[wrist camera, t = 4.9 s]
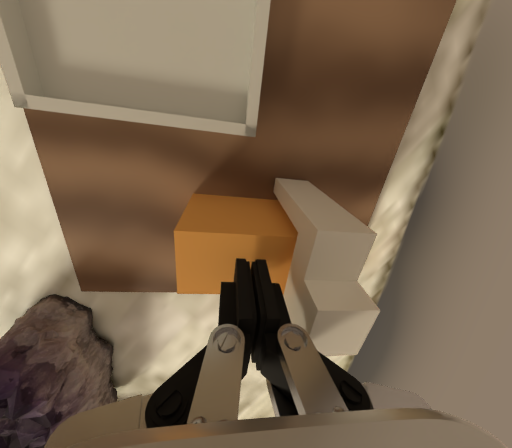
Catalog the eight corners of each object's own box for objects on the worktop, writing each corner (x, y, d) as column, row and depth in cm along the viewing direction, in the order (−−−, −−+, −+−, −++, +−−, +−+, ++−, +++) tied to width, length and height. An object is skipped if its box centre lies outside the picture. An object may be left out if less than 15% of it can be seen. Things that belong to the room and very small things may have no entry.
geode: (-26, 287, 20) (-200, 415, 11) (114, 285, 23) (64, 381, 15) (24, 407, 28) (-55, 538, 19) (124, 392, 31) (95, 496, 22)
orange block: (193, 193, 17) (173, 230, 11) (298, 201, 18) (329, 239, 13) (193, 240, 19) (177, 293, 13) (288, 245, 20) (312, 294, 14)
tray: (-38, -177, 9) (-105, -251, 7) (275, -84, 11) (284, -124, 9) (43, 108, 13) (14, 107, 12) (252, 135, 15) (255, 137, 14)
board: (-50, -182, 9) (-80, -214, 8) (457, -32, 13) (473, -43, 12) (87, 284, 21) (81, 291, 20) (336, 287, 25) (340, 293, 24)
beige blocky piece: (275, 177, 17) (337, 254, 7) (308, 180, 17) (408, 257, 8) (261, 261, 21) (290, 389, 11) (289, 262, 21) (340, 385, 11)
